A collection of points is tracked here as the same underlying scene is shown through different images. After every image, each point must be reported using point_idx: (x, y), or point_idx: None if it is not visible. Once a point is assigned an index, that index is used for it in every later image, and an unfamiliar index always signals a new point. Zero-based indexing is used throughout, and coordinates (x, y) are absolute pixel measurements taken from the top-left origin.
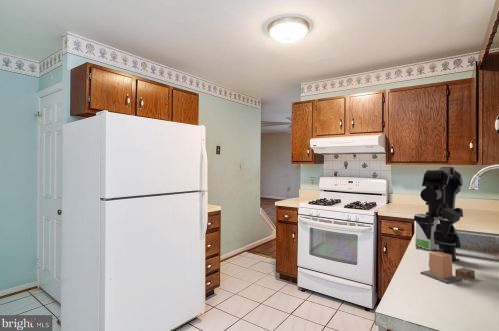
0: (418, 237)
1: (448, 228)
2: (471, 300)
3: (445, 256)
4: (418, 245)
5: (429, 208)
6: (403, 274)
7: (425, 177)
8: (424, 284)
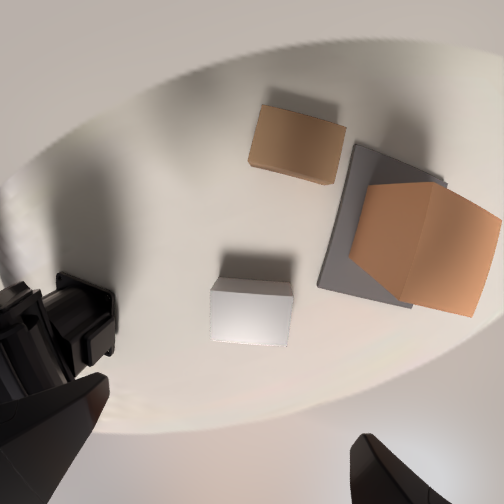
0: None
1: (26, 427)
2: (488, 95)
3: (480, 208)
4: None
5: None
6: (455, 332)
7: None
8: None
